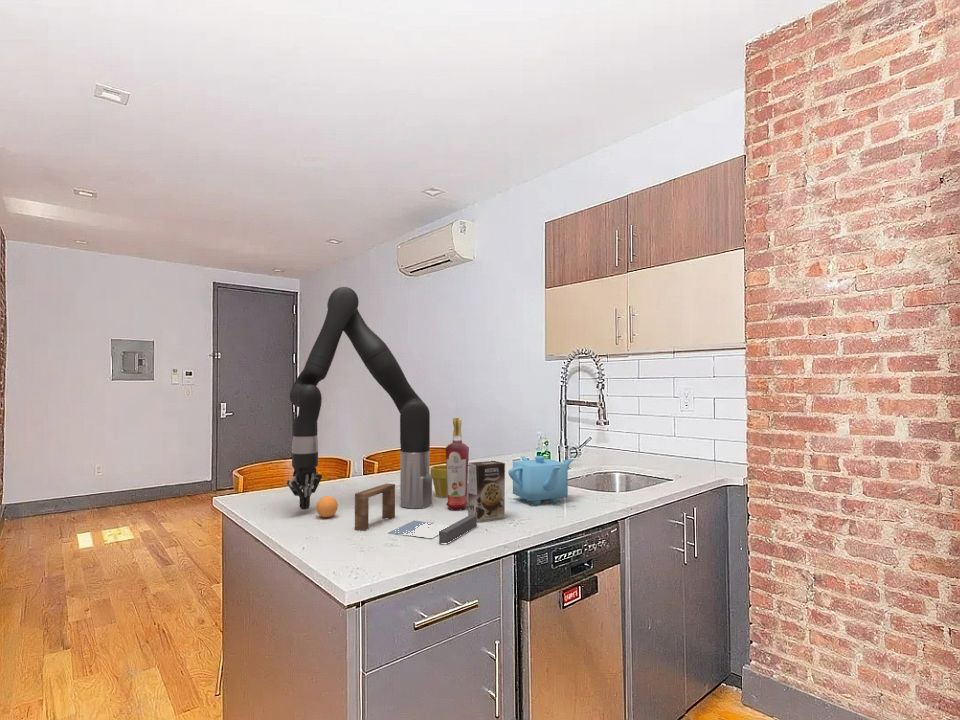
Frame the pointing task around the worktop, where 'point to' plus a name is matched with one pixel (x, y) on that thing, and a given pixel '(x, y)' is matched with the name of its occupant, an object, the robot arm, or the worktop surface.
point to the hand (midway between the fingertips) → (304, 508)
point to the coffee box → (486, 490)
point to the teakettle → (540, 479)
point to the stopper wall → (457, 529)
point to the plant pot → (439, 480)
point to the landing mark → (408, 527)
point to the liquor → (457, 469)
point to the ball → (327, 506)
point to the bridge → (363, 504)
